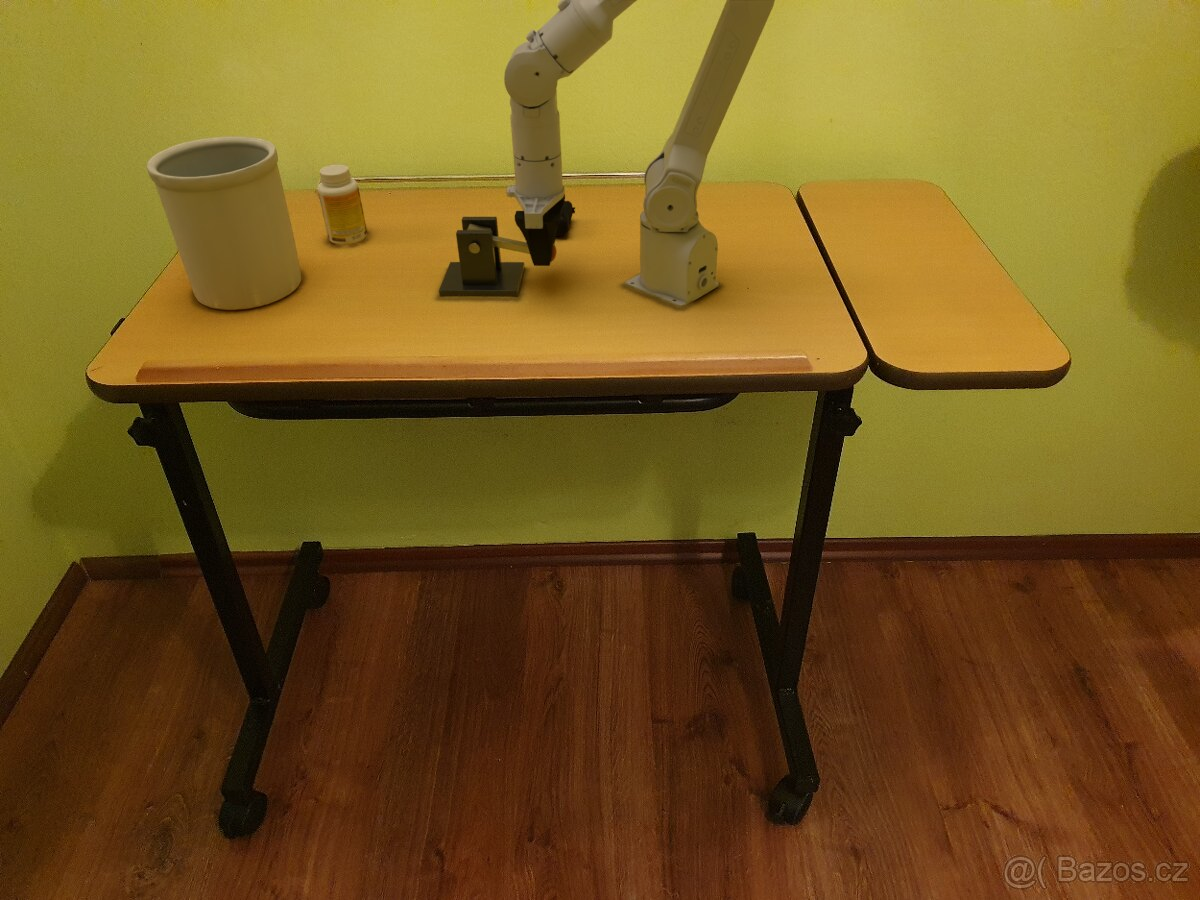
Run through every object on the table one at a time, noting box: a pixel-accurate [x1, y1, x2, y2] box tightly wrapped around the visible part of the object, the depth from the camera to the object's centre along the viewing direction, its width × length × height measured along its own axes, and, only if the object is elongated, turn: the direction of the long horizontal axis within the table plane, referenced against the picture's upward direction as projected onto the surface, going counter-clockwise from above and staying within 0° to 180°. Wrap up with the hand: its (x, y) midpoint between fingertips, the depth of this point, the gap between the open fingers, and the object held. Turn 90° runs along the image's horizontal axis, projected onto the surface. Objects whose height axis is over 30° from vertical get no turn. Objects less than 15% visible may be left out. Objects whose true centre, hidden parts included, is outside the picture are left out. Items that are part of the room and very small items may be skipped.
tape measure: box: [556, 200, 576, 237], centre depth 129 cm, size 7×7×4 cm
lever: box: [467, 224, 557, 263], centre depth 115 cm, size 12×3×3 cm, turn 87°
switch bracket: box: [438, 216, 525, 298], centre depth 116 cm, size 10×8×8 cm
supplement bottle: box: [317, 163, 368, 246], centre depth 127 cm, size 6×6×10 cm
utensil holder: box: [146, 135, 302, 311], centre depth 114 cm, size 15×15×18 cm
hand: (543, 257), depth 116 cm, fingers closed on lever, 3 cm apart
